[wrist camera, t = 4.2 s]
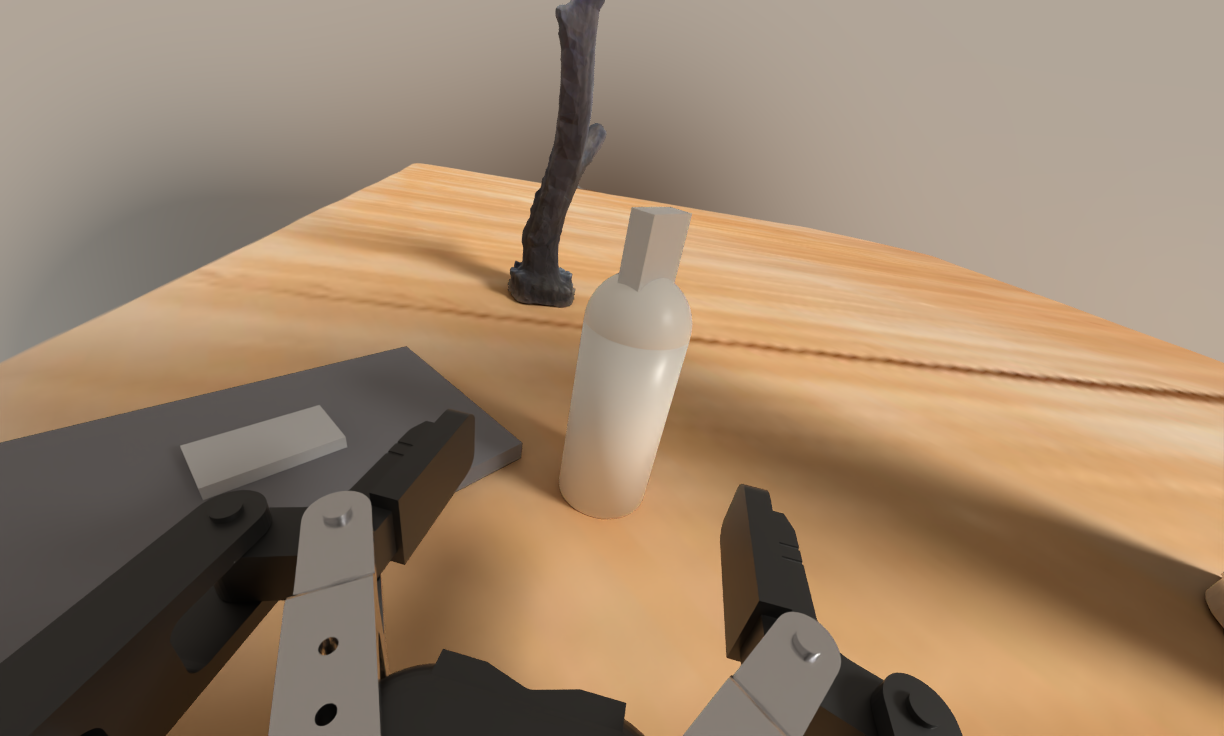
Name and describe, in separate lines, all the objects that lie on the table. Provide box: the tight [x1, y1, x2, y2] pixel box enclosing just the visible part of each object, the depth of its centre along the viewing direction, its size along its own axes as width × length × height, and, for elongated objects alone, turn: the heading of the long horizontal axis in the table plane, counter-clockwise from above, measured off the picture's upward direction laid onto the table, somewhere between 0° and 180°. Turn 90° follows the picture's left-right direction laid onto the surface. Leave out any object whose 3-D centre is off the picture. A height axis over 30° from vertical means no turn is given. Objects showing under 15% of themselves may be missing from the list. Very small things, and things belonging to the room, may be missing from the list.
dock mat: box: [0, 346, 522, 663], centre depth 19 cm, size 18×12×2 cm, turn 137°
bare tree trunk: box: [508, 0, 606, 307], centre depth 36 cm, size 12×8×25 cm
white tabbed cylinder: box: [559, 207, 692, 519], centre depth 19 cm, size 4×4×14 cm
